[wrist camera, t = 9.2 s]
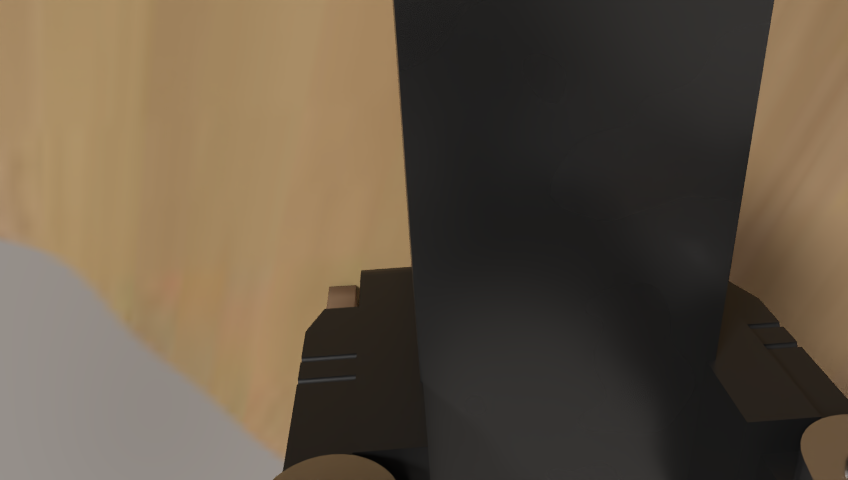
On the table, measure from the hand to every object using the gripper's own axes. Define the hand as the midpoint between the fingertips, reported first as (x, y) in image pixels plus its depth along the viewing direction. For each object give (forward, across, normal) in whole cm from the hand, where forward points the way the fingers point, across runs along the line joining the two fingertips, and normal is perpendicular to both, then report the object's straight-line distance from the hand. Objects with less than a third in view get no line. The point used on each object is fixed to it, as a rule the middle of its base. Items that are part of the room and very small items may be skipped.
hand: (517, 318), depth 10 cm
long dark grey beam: (+1, 0, 0) cm, 1 cm away
